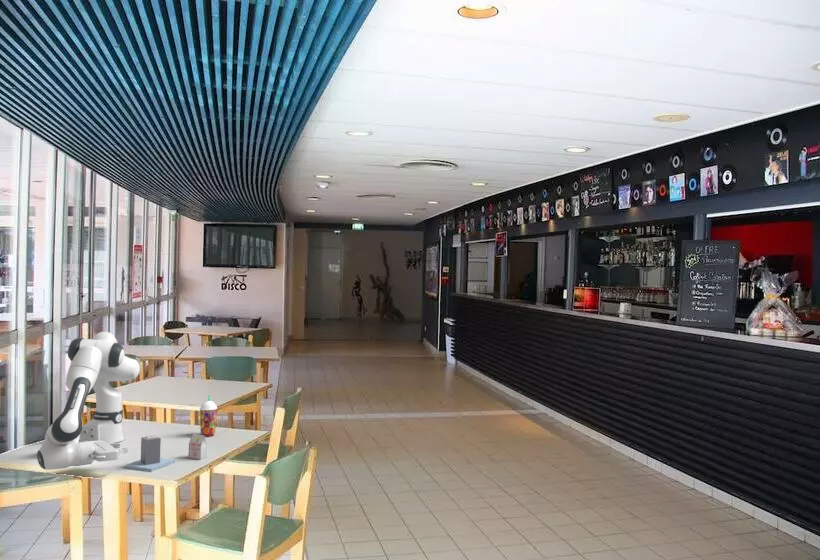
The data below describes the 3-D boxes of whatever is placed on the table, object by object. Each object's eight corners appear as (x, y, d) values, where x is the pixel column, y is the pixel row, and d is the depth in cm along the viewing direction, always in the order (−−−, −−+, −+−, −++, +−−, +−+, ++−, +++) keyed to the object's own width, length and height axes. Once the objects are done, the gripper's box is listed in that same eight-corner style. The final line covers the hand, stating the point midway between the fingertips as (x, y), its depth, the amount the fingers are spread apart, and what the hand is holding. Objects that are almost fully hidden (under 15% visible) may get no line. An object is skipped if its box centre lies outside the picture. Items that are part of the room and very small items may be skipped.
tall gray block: (145, 464, 258) (146, 439, 258) (140, 461, 262) (141, 436, 262) (159, 462, 262) (160, 437, 262) (154, 459, 266) (155, 434, 266)
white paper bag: (194, 455, 278) (195, 433, 278) (206, 457, 275) (207, 434, 275) (188, 457, 274) (189, 434, 274) (200, 459, 272) (201, 436, 272)
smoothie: (209, 432, 320) (210, 393, 320) (220, 435, 315) (221, 395, 315) (195, 435, 313) (196, 395, 313) (205, 438, 308) (207, 397, 308)
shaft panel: (125, 468, 257) (125, 449, 257) (149, 459, 270) (149, 441, 270) (151, 471, 253) (152, 453, 253) (174, 462, 266) (175, 444, 266)
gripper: (94, 450, 237) (132, 445, 247) (78, 439, 253) (115, 435, 262) (93, 467, 237) (131, 461, 247) (78, 455, 253) (115, 450, 262)
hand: (123, 447), depth 254 cm, fingers open, 8 cm apart
